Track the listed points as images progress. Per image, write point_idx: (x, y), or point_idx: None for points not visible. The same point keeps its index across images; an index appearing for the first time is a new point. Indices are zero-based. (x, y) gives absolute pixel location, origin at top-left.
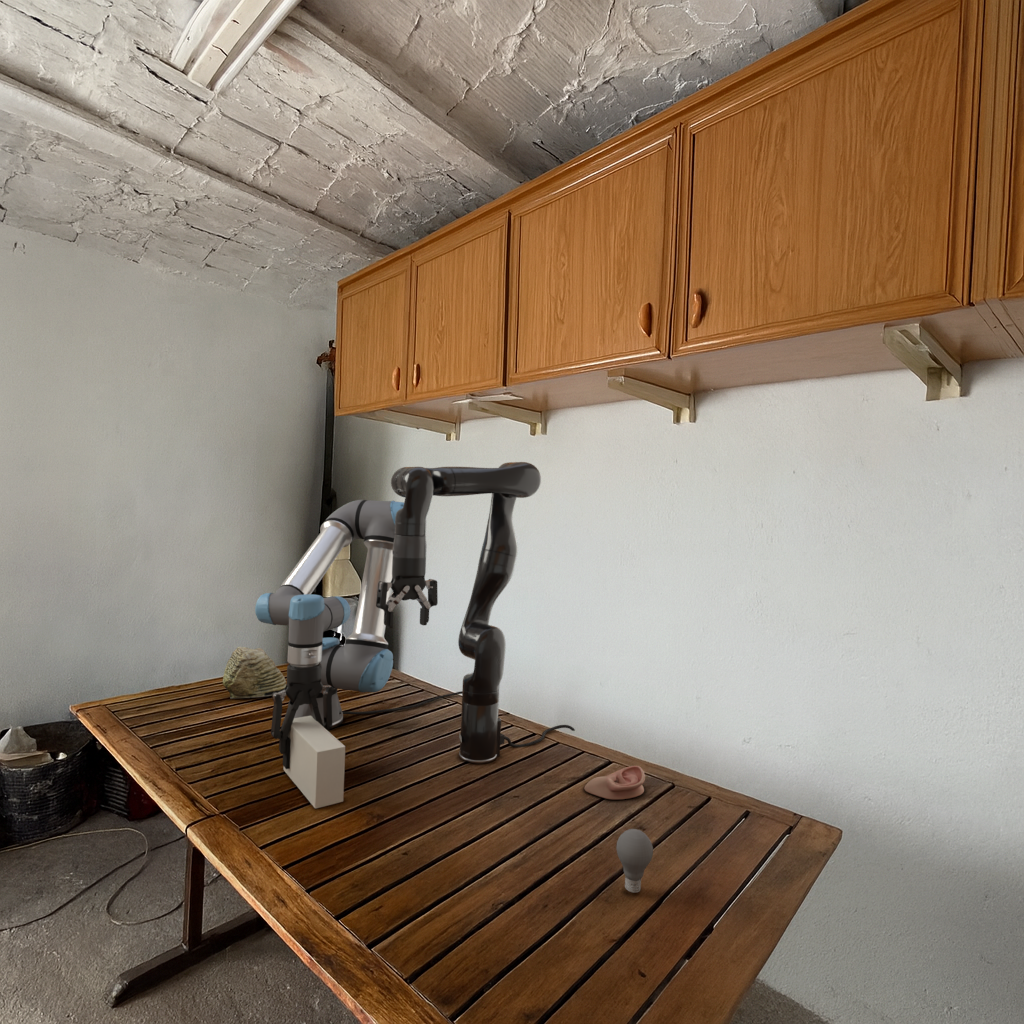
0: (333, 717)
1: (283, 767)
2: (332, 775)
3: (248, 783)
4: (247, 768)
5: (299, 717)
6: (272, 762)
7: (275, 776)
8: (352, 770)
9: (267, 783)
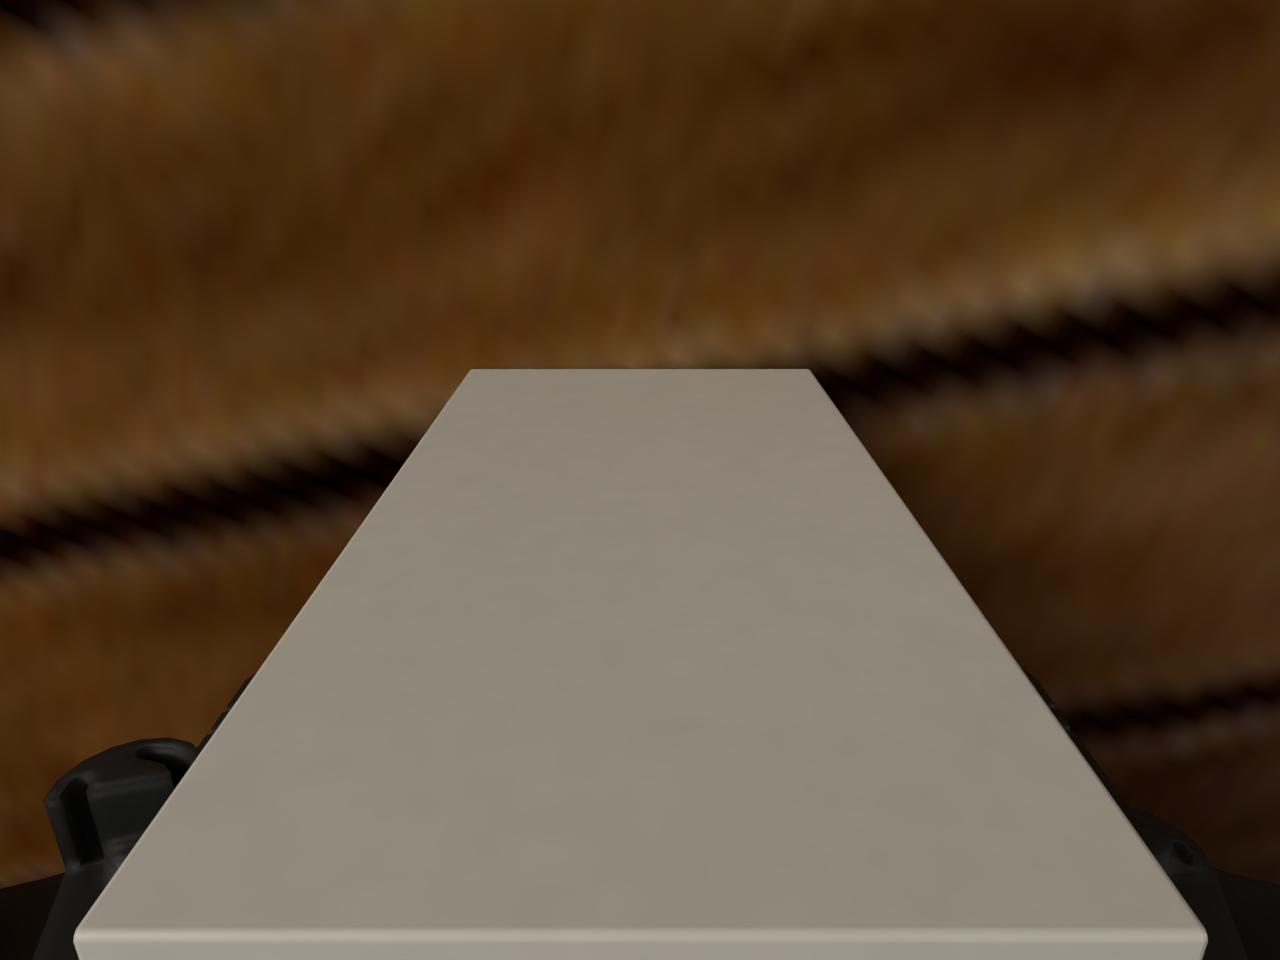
0: None
1: (464, 380)
2: None
3: (36, 529)
4: (16, 63)
5: (694, 951)
6: (383, 27)
7: (347, 501)
8: (1136, 750)
9: (239, 624)
